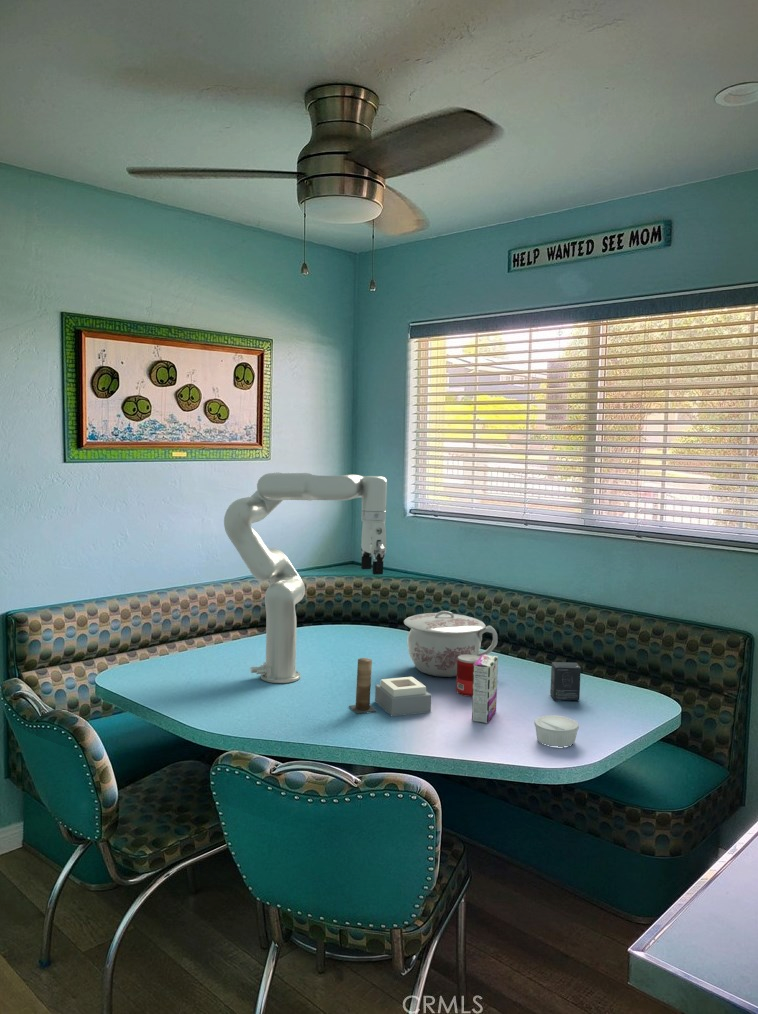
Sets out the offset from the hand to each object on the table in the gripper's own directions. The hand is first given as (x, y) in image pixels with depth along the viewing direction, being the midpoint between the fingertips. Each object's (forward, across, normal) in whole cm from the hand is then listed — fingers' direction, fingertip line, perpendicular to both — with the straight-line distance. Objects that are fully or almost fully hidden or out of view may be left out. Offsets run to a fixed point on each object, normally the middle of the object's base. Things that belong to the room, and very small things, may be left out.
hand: (371, 571), depth 241 cm
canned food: (+36, -14, -28) cm, 48 cm away
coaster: (+36, -19, +9) cm, 42 cm away
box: (+37, -27, -54) cm, 71 cm away
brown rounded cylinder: (+36, -19, +9) cm, 42 cm away
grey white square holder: (+36, -20, -3) cm, 42 cm away
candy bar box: (+37, -34, -22) cm, 55 cm away
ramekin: (+37, -56, -31) cm, 74 cm away
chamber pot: (+36, +8, -30) cm, 48 cm away
